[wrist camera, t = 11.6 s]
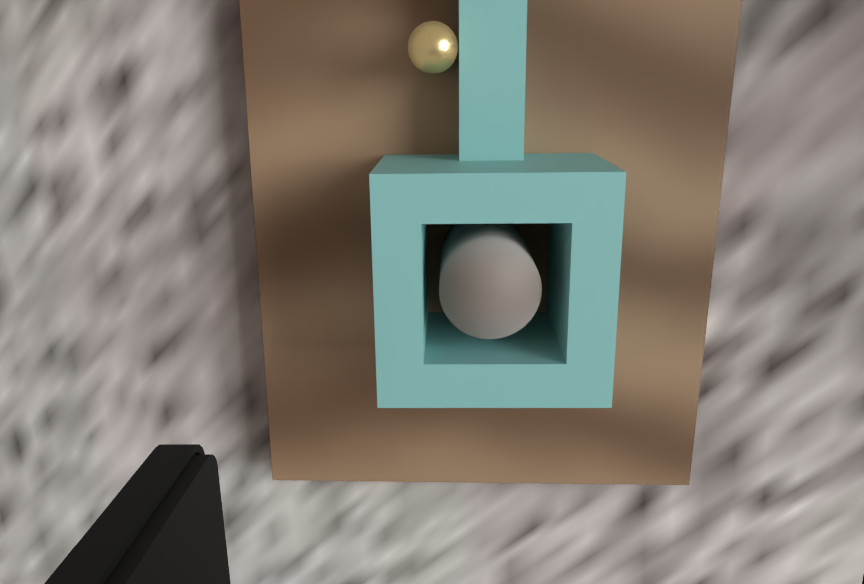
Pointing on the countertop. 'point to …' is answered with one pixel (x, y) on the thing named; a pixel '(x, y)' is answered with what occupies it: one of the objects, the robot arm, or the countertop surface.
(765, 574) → the countertop surface
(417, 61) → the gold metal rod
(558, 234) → the teal square scoop
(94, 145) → the countertop surface
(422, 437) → the post base
